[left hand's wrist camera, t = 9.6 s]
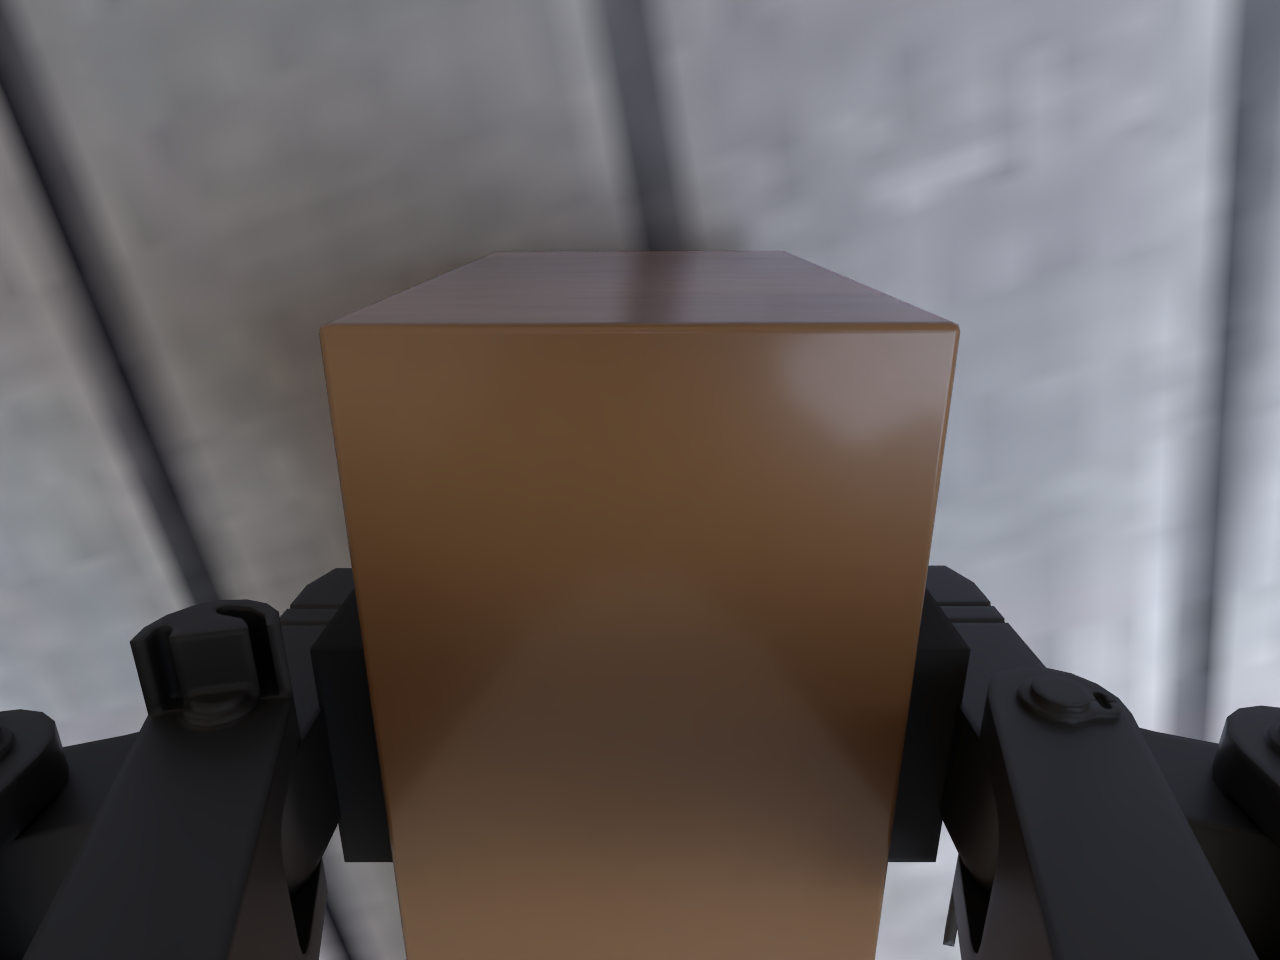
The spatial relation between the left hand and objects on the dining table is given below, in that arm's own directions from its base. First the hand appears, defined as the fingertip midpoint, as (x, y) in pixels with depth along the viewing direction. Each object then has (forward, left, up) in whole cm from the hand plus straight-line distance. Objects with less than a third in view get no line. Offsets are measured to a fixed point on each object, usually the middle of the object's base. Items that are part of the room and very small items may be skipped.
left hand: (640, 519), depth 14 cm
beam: (+24, +10, -1) cm, 26 cm away
